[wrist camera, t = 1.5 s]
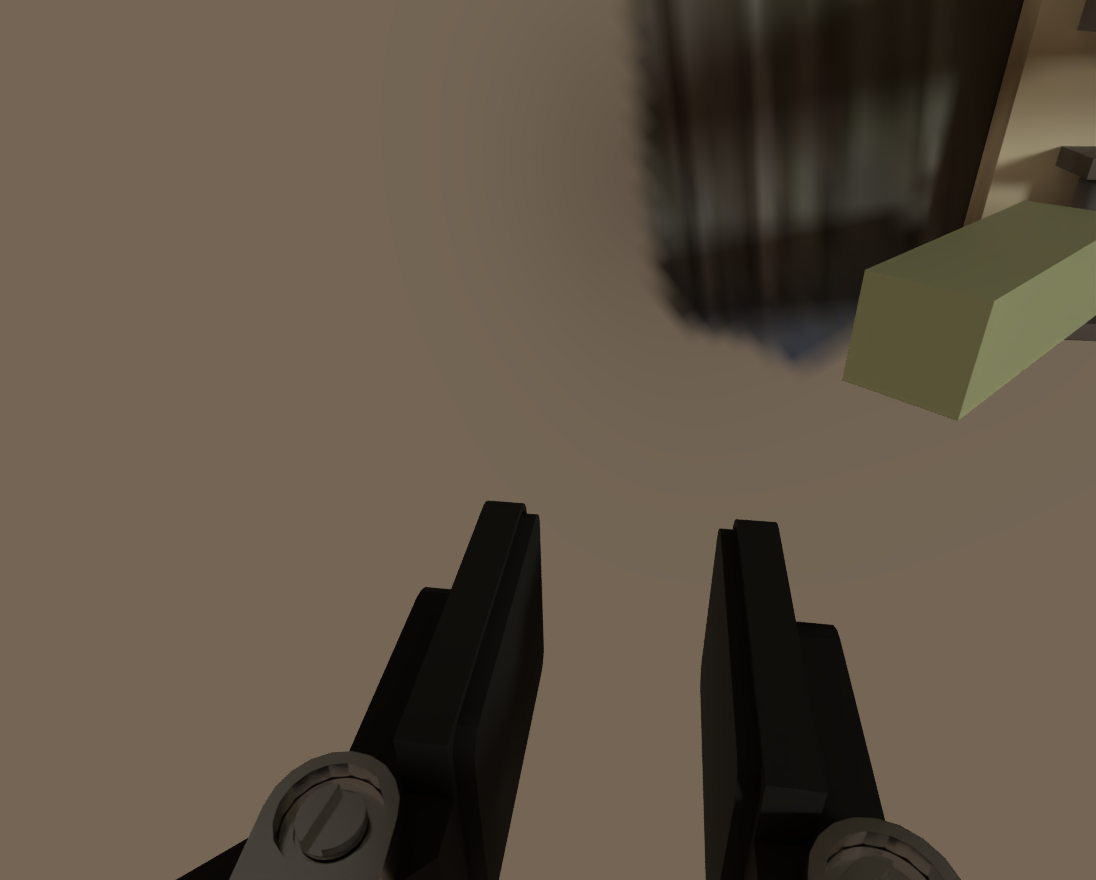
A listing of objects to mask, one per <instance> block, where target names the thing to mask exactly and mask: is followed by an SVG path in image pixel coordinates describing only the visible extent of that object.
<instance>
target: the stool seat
mask: <svg viewBox="0 0 1096 880" xmlns="http://www.w3.org/2000/svg"><path fill="white" fill-rule="evenodd" d="M1080 178H1084V179H1086V180H1096V0H1024V3H1023V6H1022V10H1021V14H1020V18H1019V21H1018V25H1017V29H1016V32H1015V36H1014V40H1013V44H1012V47H1011V51H1010V55H1009V58H1008V62H1007V66H1006V70H1005V73H1004V77H1003V81H1002V84H1001V88H1000V92H999V96H998V99H997V103H996V107H995V111H994V114H993V118H992V122H991V125H990V129H989V133H988V137H987V140H986V144H985V148H984V151H983V155H982V159H981V163H980V166H979V170H978V174H977V178H976V181H975V185H974V189H973V192H972V196H971V200H970V204H969V207H968V211H967V215H966V218H965V222H964V226H963V227H965V226H967V225H969V224H972V223H974V222H976V221H978V220H981V219H983V218H985V217H988V216H990V215H992V214H995V213H997V212H999V211H1001V210H1004V209H1006V208H1008V207H1011V206H1013V205H1015V204H1018V203H1020V202H1022V201H1024V200H1026V201H1033V202H1039V203H1046V204H1053V205H1059V206H1066V207H1070V205H1071V202H1072V199H1073V196H1074V193H1075V190H1076V187H1077V184H1078V181H1079V179H1080ZM1064 340H1083V341H1096V316H1094V317H1093V318H1092V319H1090V320H1089V321H1088V322H1086V323H1085V324H1084V325H1083V326H1081V327H1080V328H1079V329H1077V330H1076V331H1075V332H1073V333H1072V334H1071V335H1069V336H1068V337H1067V338H1065V339H1064Z"/></svg>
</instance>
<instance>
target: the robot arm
mask: <svg viewBox="0 0 1096 880" xmlns="http://www.w3.org/2000/svg"><path fill="white" fill-rule="evenodd" d="M540 550H541V548H540V520H539V515H537V514H527V512H526V506H525V504H524V503H512V502H499V501H486V502H485V504H484V506H483V508H482V511H481V513H480V516H479V519H478V521H477V524H476V526H475V529H474V532H473V534H472V537H471V540H470V542H469V544H468V547H467V550H466V552H465V555H464V557H463V560H462V563H461V565H460V568H459V570H458V573H457V575H456V578H455V581H454V583H453V586H452V589H440V588H430V587H425V588H423V589H422V590H421V591H420V593H419V595H418V596H417V598H416V600H415V603H414V605H413V607H412V610H411V612H410V614H409V617H408V618H407V621H406V623H405V626H404V628H403V630H402V632H401V635H400V637H399V639H398V641H397V644H396V646H395V648H394V651H393V653H392V655H391V657H390V660H389V662H388V664H387V667H386V669H385V671H384V673H383V676H382V678H381V680H380V683H379V685H378V687H377V689H376V692H375V694H374V696H373V698H372V701H371V703H370V705H369V707H368V710H367V712H366V714H365V716H364V719H363V721H362V723H361V726H360V728H359V730H358V733H357V735H356V737H355V739H354V742H353V744H352V746H351V748H350V751H348V752H332V753H329V754H326V755H322V756H320V757H316V758H313V759H311V760H309V761H307V762H306V763H304V764H302V765H301V766H299V767H297V768H296V769H294V770H292V771H291V772H290V773H289V774H288V775H287V776H286V777H285V778H284V779H283V780H282V781H281V782H280V783H279V784H278V785H277V786H276V787H275V788H274V790H273V791H272V793H271V794H270V796H269V797H268V799H267V800H266V802H265V804H264V805H263V807H262V809H261V811H260V814H259V816H258V818H257V820H256V822H255V824H254V827H253V829H252V831H251V833H250V835H249V838H247V839H246V840H244V841H242V842H240V843H239V844H237V845H235V846H233V847H232V848H230V849H228V850H227V851H225V852H223V853H221V854H220V855H218V856H216V857H214V858H213V859H211V860H209V861H208V862H206V863H204V864H202V865H201V866H199V867H197V868H196V869H194V870H192V871H191V872H189V873H187V874H185V875H184V876H182V877H180V878H178V879H177V880H499V876H500V871H501V867H502V862H503V857H504V852H505V847H506V842H507V837H508V833H509V828H510V823H511V818H512V813H513V808H514V803H515V799H516V794H517V789H518V784H519V779H520V774H521V769H522V765H523V760H524V754H525V750H526V745H527V740H528V735H529V731H530V726H531V720H532V716H533V711H534V706H535V701H536V697H537V692H538V687H539V682H540V677H541V672H542V665H543V653H544V644H543V643H544V642H543V610H542V579H541V551H540ZM700 689H701V690H700V693H701V728H702V763H703V798H704V832H705V868H706V880H961V879H960V878H959V876H958V875H957V874H956V872H955V871H954V870H953V868H952V867H951V866H950V864H949V863H948V861H947V860H946V859H945V858H944V857H943V856H942V855H941V854H940V853H939V852H938V851H936V850H935V849H934V848H933V847H932V846H931V845H930V844H929V843H927V842H926V841H925V840H924V839H923V838H921V837H919V836H917V835H916V834H914V833H912V832H910V831H909V830H907V829H905V828H904V827H902V826H900V825H897V824H894V823H890V822H887V821H885V818H884V814H883V810H882V806H881V803H880V798H879V794H878V790H877V786H876V782H875V778H874V774H873V770H872V766H871V762H870V758H869V754H868V750H867V746H866V742H865V738H864V734H863V730H862V726H861V722H860V718H859V714H858V710H857V706H856V701H855V697H854V693H853V689H852V686H851V681H850V677H849V673H848V669H847V665H846V661H845V657H844V653H843V649H842V645H841V641H840V638H839V635H838V632H837V629H836V628H835V627H834V625H827V624H816V623H806V622H796V620H795V614H794V609H793V603H792V598H791V592H790V587H789V582H788V576H787V571H786V565H785V560H784V554H783V549H782V544H781V538H780V533H779V528H778V524H777V523H776V522H766V521H752V520H738V519H736V520H735V521H734V525H733V530H731V529H719V531H718V537H717V544H716V552H715V560H714V568H713V576H712V584H711V592H710V600H709V608H708V616H707V624H706V632H705V640H704V648H703V656H702V665H701V683H700Z"/></svg>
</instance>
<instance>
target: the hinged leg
mask: <svg viewBox="0 0 1096 880" xmlns="http://www.w3.org/2000/svg"><path fill="white" fill-rule="evenodd" d="M1094 316H1096V180H1086V179H1084V178H1080V179H1079V181H1078V184H1077V187H1076V190H1075V193H1074V196H1073V199H1072V202H1071V205H1070V207H1066V206H1059V205H1053V204H1046V203H1039V202H1033V201H1026V200H1024V201H1022V202H1020V203H1018V204H1015V205H1013V206H1011V207H1008V208H1006V209H1004V210H1001V211H999V212H997V213H995V214H992V215H990V216H988V217H985V218H983V219H981V220H978V221H976V222H974V223H972V224H969V225H967V226H965V227H962V228H960V229H958V230H956V231H953V232H951V233H949V234H946V235H944V236H942V237H939V238H937V239H935V240H933V241H930V242H928V243H926V244H923V245H921V246H919V247H916V248H914V249H912V250H910V251H907V252H905V253H903V254H900V255H898V256H896V257H894V258H891V259H889V260H887V261H884V262H882V263H880V264H877V265H875V266H873V267H871V268H868V269H866V270H865V273H864V277H863V282H862V287H861V292H860V297H859V302H858V306H857V311H856V316H855V321H854V326H853V331H852V335H851V340H850V345H849V350H848V355H847V360H846V365H845V369H844V374H843V379H842V380H843V381H846V382H849V383H852V384H855V385H857V386H860V387H863V388H866V389H869V390H871V391H874V392H877V393H880V394H883V395H886V396H889V397H891V398H894V399H898V400H900V401H903V402H906V403H908V404H911V405H914V406H917V407H920V408H923V409H926V410H929V411H931V412H934V413H937V414H940V415H943V416H946V417H948V418H951V419H954V420H957V421H958V420H959V419H961V418H962V417H963V416H965V415H966V414H967V413H969V412H970V411H971V410H973V409H974V408H975V407H976V406H978V405H979V404H980V403H982V402H983V401H984V400H985V399H987V398H988V397H990V396H991V395H992V394H994V393H995V392H996V391H997V390H999V389H1000V388H1001V387H1003V386H1004V385H1005V384H1007V383H1008V382H1009V381H1011V380H1012V379H1013V378H1014V377H1016V376H1017V375H1018V374H1020V373H1021V372H1022V371H1024V370H1025V369H1026V368H1028V367H1029V366H1030V365H1031V364H1032V363H1034V362H1035V361H1037V360H1038V359H1039V358H1041V357H1042V356H1043V355H1045V354H1046V353H1047V352H1048V351H1050V350H1051V349H1052V348H1054V347H1055V346H1056V345H1057V344H1059V343H1060V342H1062V341H1063V340H1064V339H1065V338H1067V337H1068V336H1069V335H1071V334H1072V333H1073V332H1075V331H1076V330H1077V329H1079V328H1080V327H1081V326H1083V325H1084V324H1085V323H1086V322H1088V321H1089V320H1090V319H1092V318H1093V317H1094Z"/></svg>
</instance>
